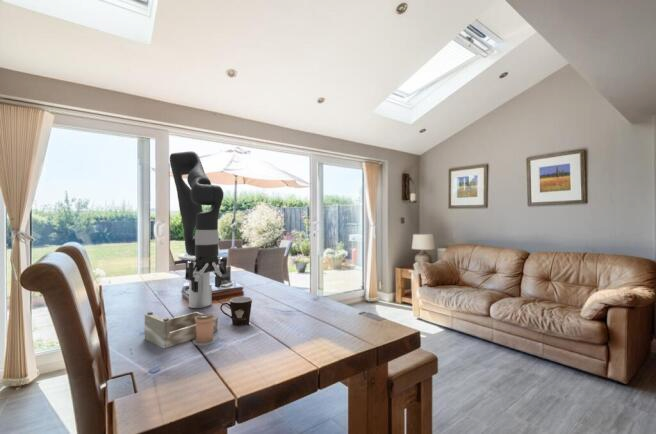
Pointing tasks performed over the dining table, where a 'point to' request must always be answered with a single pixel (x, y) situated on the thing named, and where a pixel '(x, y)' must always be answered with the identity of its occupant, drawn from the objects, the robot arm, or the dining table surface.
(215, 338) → the saucer
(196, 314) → the wooden box
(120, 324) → the dining table surface
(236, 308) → the coffee mug
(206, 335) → the pot
